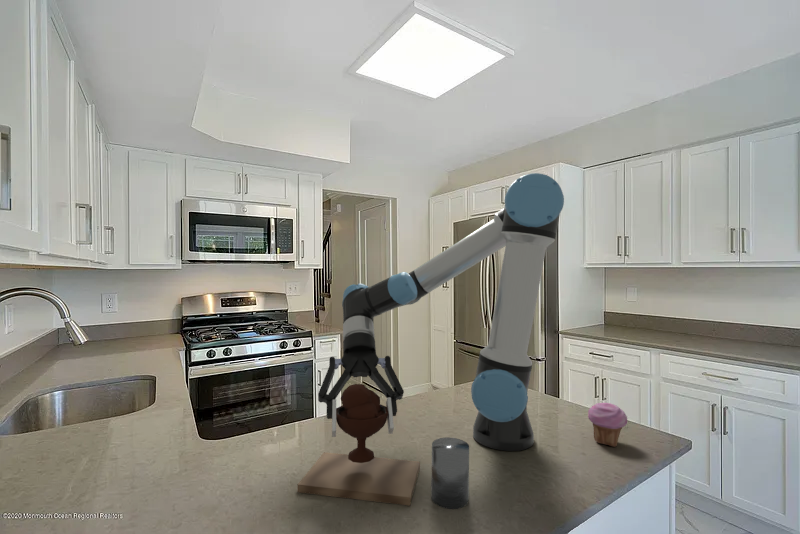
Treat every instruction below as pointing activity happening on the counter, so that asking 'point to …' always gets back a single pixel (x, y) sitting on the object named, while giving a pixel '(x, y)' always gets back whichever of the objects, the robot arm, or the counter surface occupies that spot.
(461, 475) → the metal tin
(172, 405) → the counter surface
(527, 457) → the counter surface
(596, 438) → the cupcake
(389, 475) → the walnut board
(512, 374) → the robot arm
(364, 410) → the ice cream bowl
